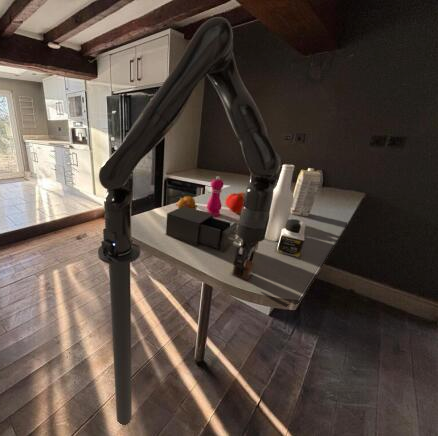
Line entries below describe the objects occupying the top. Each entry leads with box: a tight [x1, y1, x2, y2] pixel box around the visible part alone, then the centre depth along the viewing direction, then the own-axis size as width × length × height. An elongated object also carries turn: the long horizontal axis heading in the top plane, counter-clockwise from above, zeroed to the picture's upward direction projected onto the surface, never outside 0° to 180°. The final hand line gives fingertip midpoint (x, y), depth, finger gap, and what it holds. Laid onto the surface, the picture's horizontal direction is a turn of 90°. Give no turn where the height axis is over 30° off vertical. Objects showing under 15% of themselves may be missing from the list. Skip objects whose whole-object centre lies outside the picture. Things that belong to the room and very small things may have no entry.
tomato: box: [225, 192, 245, 214], centre depth 123 cm, size 14×16×10 cm
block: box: [232, 260, 255, 281], centre depth 72 cm, size 4×4×4 cm
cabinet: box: [165, 206, 215, 247], centre depth 96 cm, size 15×13×10 cm
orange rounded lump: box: [176, 195, 199, 210], centre depth 120 cm, size 10×11×10 cm
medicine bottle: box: [276, 218, 307, 258], centre depth 85 cm, size 7×7×12 cm
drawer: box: [198, 217, 243, 253], centre depth 89 cm, size 18×11×8 cm, turn 50°
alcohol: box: [264, 163, 296, 242], centre depth 92 cm, size 9×9×30 cm
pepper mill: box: [206, 175, 224, 217], centre depth 117 cm, size 7×7×20 cm
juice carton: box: [290, 167, 322, 217], centre depth 120 cm, size 9×8×24 cm
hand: (243, 269), depth 72 cm, fingers open, 8 cm apart
